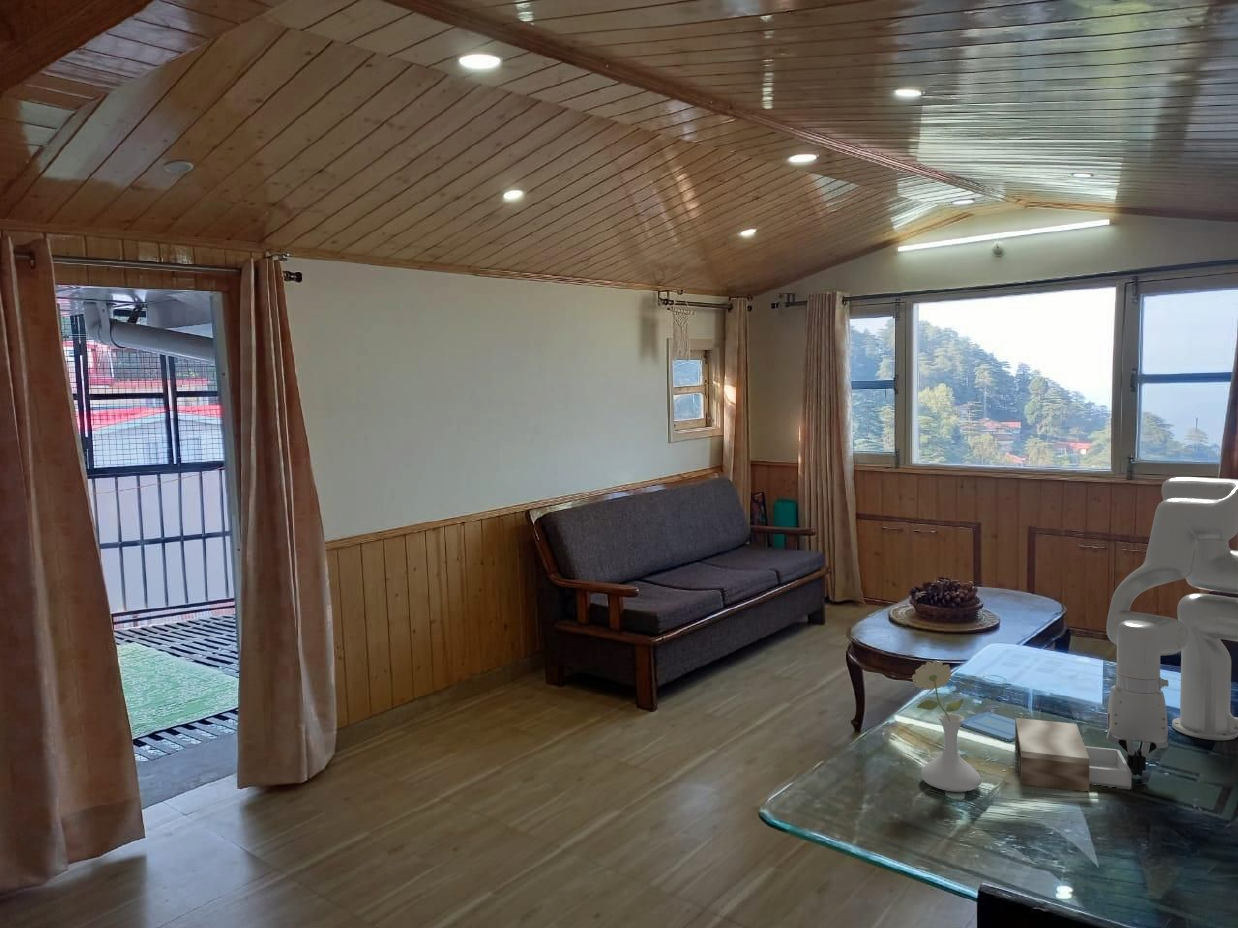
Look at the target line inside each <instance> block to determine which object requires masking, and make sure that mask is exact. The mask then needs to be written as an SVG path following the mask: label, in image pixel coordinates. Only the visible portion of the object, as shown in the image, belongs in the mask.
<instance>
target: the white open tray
mask: <svg viewBox="0 0 1238 928" xmlns="http://www.w3.org/2000/svg"><path fill="white" fill-rule="evenodd" d="M1085 748H1086V751H1087V753H1088V756H1089V784H1096V785H1103V786H1108V787H1107V788H1112V787H1117V788H1116V789H1123V790H1130V789H1131V790H1132V772H1131V769H1129V767H1128V765H1127V761H1126V759H1125V757H1124V756H1123V754H1122V752H1121V750H1120V749H1118V748H1117V749H1115V748H1109V747H1108V748H1105V747H1096V746H1087V745H1085ZM1103 786H1102V787H1103Z"/></svg>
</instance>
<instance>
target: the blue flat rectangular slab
mask: <svg viewBox="0 0 1238 928" xmlns="http://www.w3.org/2000/svg"><path fill="white" fill-rule="evenodd" d="M962 726H963V727H962ZM960 727H962V728H965V727H966V729H968V728H969V729H968V730H971V729H972V730H971V731H974V732H977V731H978V732H977V733H980V732H981V734H983V735H987V736H989V737H992V738H995V737H997V738H996V739H998V738H1000V739H999V740H1001V739H1003V740H1002V741H1004V740H1007V741H1011V742H1013V741H1012V740H1014V741H1015V719H1013V718H1010V717H1007V716H1003V715H1001V714H1000V715H999V714H997V713H993V712H990V711H986V712H983V713H980V714H977V715H974V716H971V717H968V718H964V721H963V722H962V723H961V725H960ZM1007 741H1006V742H1007Z"/></svg>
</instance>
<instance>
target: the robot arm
mask: <svg viewBox="0 0 1238 928" xmlns="http://www.w3.org/2000/svg"><path fill="white" fill-rule="evenodd" d="M1160 490H1161V497H1162V501H1161V502H1159V503H1158V505H1157V507H1156V509H1155V512H1154V517H1153V521H1152V527H1151V531H1150V537H1149V540H1148V545H1147V549H1146V552H1145V553H1146V554H1145V559H1144V561H1143V564H1141V566H1139V567H1138V568H1136V569H1135V570H1134V571H1132V572H1131V573H1130V574H1128V575H1127V576H1126V577H1125V578H1124V579H1123V580H1122V581H1121V582H1120V584H1119V585H1118V586H1117V587H1116V589H1115V590H1114V592H1113V594H1112V598H1111V600H1110V601H1111V602H1110V605H1109V610H1108V613H1107V618H1106V629H1105V630H1106V635H1107V637H1108V639H1109V641H1110V642H1111V643H1113V644H1114V645H1116V680H1115V681H1116V682H1115V683H1116V684H1114V685H1112V686H1111V688H1110V692H1109V698H1108V705H1107V717H1106V726H1107V733H1106V736H1105V737H1106V740H1107V742H1108V743H1112V744H1115V745H1118V746H1120V747H1121V749H1123V750H1124V751H1125V752H1126V753H1127V754H1126V755H1127V759H1126V760H1127V761H1126V763H1127V765H1128V767H1129V769H1130V770H1131V775H1133V776H1139V777H1143V772H1145V771H1147V769H1146V768H1147V767H1146V766H1147V758H1148V756H1149V754H1151V753H1152V752H1154V750H1156V749H1166V748H1168V747H1169V742H1168V732H1169V729H1168V726H1169V725H1168V715H1167V704H1166V699H1165V695H1164V692H1163V690H1162V688H1164V687H1165V688H1168V687H1169V680H1168V679H1164V678H1162V677H1161V656H1173V655H1177V654H1178V653H1180V652H1181V654H1180V657H1181V658H1180V659H1181V661H1180V700H1179V701H1180V702H1179V703H1180V705H1179V717H1176V718H1173V719H1172V720H1171V726H1172V728H1173V729H1174V730H1175V731H1177V732H1179V733H1181V734H1183V735H1186V736H1189V737H1193V738H1198V739H1203V740H1208V741H1210V740H1211V741H1230V740H1231V741H1232V740H1235V739H1236V738H1238V717H1236V716H1234V715H1232V713H1231V688H1232V685H1231V684H1232V657H1231V655H1230V652H1229V651H1228V649H1227V647H1226V646H1225V644H1224V643H1223V642H1222V641H1221V640H1227V641H1232V642H1238V597H1233V596H1232V597H1231V596H1230V597H1229V596H1226V595H1219V594H1210V593H1190V594H1186V595H1184V596H1183V597H1181V599H1180V600H1179V602H1178V604H1177V611H1176V614H1177V618H1173V617H1170V616H1164V615H1158V614H1157V615H1156V614H1152V613H1146V612H1138V611H1131V610H1130V609H1131V607H1132V604H1133V603H1134V600H1135V599H1136V598H1137V597H1138V596H1139V595H1140V594H1142V593H1144V592H1145V591H1147V590H1149V589H1152V588H1154V587H1158V586H1161V585H1165V584H1169V583H1172V582H1177V581H1180V580H1184V579H1185V581H1186V583H1187V584H1188V585H1189V586H1190V587H1192V588H1196V589H1200V590H1205V591H1212V592H1221V593H1227V594H1235V595H1238V550H1233V549H1232V548H1230V543H1229V542H1230V540H1231V539H1233V538H1234V537H1235V536H1236V535H1237V533H1238V478H1237V479H1236V478H1221V477H1220V478H1219V477H1218V478H1217V477H1215V478H1214V477H1201V476H1199V477H1198V476H1196V477H1194V476H1177V477H1171V478H1168V479H1166V480H1164V481H1163V483H1162V485H1161V489H1160ZM1134 742H1139V744H1138V749H1137V750H1135V747H1134Z"/></svg>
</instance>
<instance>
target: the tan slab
mask: <svg viewBox="0 0 1238 928" xmlns="http://www.w3.org/2000/svg"><path fill="white" fill-rule="evenodd" d="M1014 720H1015V740H1014V744H1015V745H1014V748H1015V749H1016V750H1015V752H1016V753H1015V755H1017V756H1016V760H1017V762H1018V773H1019V777H1020V784H1021V785H1028V786H1034V787H1041V788H1042V787H1043V788H1050V787H1051V789H1058V788H1061V789H1060V790H1066V789H1071V790H1070V791H1074V790H1081V791H1080V792H1082V791H1088V792H1087V793H1090V785H1089V756H1088V753H1087V751H1086V748H1085V746H1086V745H1085V743H1084V740H1083V738H1082V737H1083V736H1082V735H1081V733H1080V729H1079V726H1078V725H1077V723H1072V722H1060V721H1051V720H1049V721H1048V720H1043V719H1042V720H1039V719H1032V718H1020V717H1015V719H1014Z"/></svg>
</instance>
